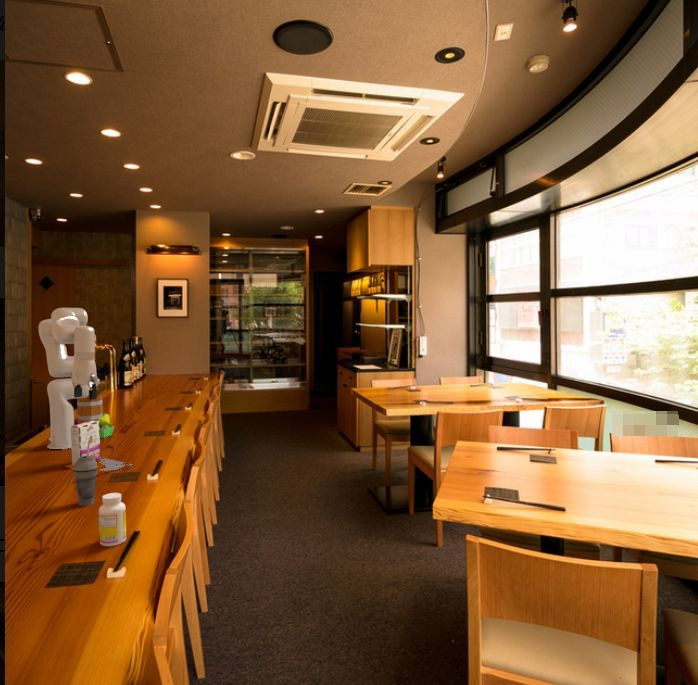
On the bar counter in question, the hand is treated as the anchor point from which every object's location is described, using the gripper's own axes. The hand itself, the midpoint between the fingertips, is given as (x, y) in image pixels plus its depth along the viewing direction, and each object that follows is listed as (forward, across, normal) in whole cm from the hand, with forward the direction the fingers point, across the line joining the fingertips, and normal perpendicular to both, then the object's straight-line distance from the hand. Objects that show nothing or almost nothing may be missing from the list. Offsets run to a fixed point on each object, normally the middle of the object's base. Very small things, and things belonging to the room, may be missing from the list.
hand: (85, 398), depth 213 cm
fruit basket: (+28, -37, +33) cm, 57 cm away
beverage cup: (+27, +43, -28) cm, 58 cm away
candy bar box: (+27, 0, 0) cm, 27 cm away
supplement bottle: (+26, +76, -42) cm, 90 cm away
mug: (+29, -77, +53) cm, 98 cm away
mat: (+27, +8, 0) cm, 28 cm away
